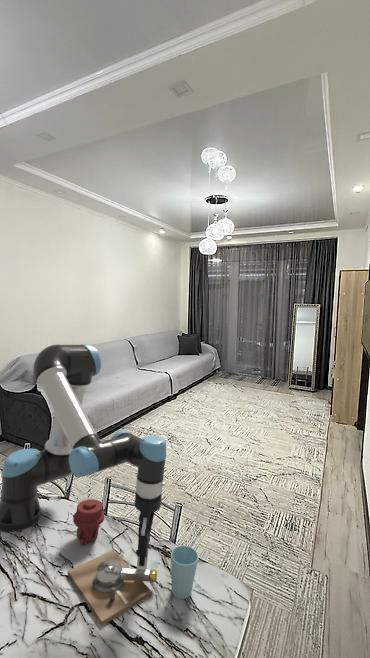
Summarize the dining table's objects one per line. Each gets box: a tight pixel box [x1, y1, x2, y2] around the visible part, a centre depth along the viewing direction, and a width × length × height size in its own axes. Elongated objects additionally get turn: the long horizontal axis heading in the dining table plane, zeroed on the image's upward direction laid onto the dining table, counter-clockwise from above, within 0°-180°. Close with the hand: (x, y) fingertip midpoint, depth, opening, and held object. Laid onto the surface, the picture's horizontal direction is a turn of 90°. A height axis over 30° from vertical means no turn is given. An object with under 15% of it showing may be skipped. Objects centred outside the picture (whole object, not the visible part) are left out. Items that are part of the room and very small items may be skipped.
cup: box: [170, 545, 199, 600], centre depth 92 cm, size 8×8×10 cm
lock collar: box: [96, 560, 158, 588], centre depth 92 cm, size 7×17×3 cm, turn 92°
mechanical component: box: [72, 498, 105, 546], centre depth 110 cm, size 12×10×10 cm
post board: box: [67, 549, 152, 627], centre depth 92 cm, size 20×15×4 cm
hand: (141, 573), depth 94 cm, fingers closed
